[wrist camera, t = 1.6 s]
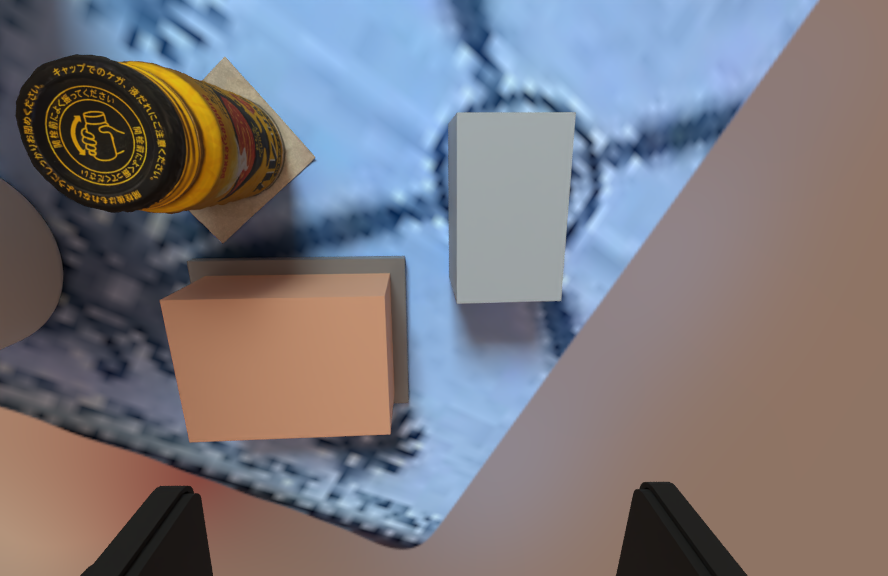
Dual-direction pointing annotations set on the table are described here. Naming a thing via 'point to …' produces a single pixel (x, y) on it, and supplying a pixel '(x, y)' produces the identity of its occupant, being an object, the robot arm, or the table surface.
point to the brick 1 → (283, 355)
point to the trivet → (329, 266)
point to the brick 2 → (508, 205)
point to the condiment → (157, 139)
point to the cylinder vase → (25, 268)
